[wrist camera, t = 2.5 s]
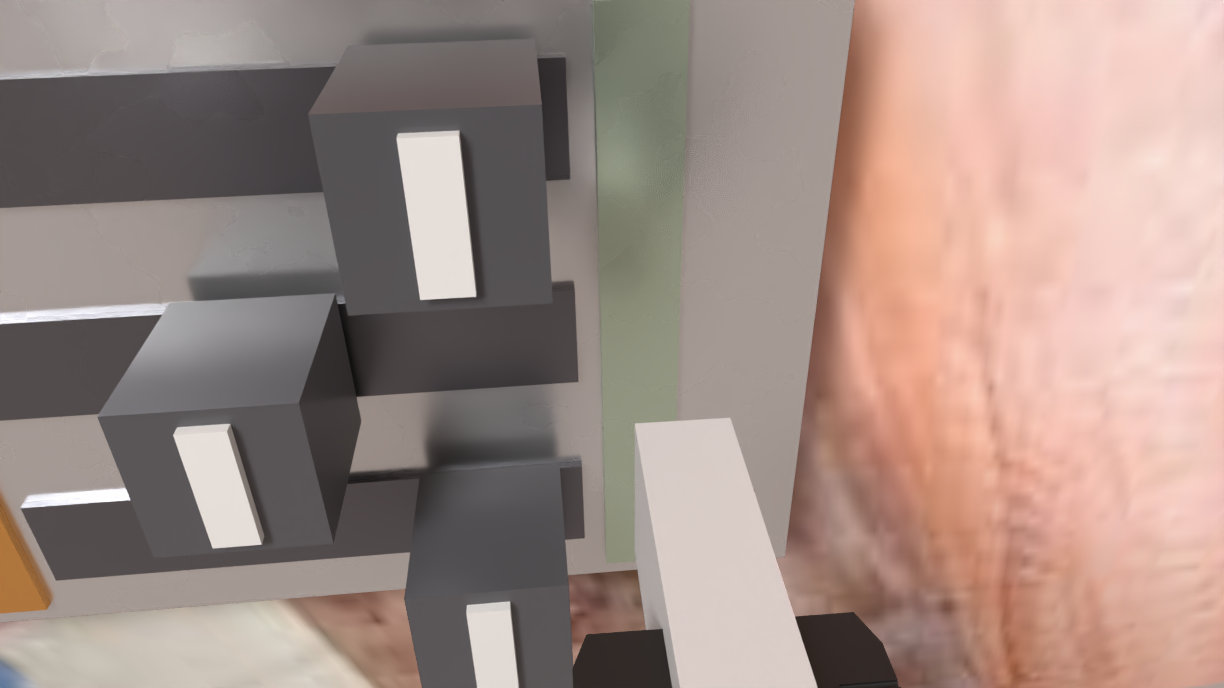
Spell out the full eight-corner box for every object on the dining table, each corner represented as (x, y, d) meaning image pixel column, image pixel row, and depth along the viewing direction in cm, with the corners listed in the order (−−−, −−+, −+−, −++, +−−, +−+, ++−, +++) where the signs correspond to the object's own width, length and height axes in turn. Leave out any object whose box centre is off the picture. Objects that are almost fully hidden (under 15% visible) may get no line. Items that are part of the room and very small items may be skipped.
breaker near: (377, 216, 16) (345, 322, 13) (349, 45, 14) (305, 120, 11) (544, 208, 16) (553, 310, 13) (535, 38, 15) (542, 109, 12)
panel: (-96, 570, 23) (-150, 641, 21) (-461, -22, 15) (-598, 6, 13) (765, 502, 24) (787, 562, 22) (825, -62, 17) (864, -41, 15)
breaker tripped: (211, 431, 18) (149, 566, 15) (169, 303, 17) (92, 424, 13) (361, 420, 18) (331, 552, 15) (334, 293, 17) (296, 410, 14)
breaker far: (436, 571, 21) (423, 710, 18) (420, 473, 19) (403, 607, 16) (565, 561, 21) (575, 697, 18) (559, 463, 20) (568, 593, 16)
